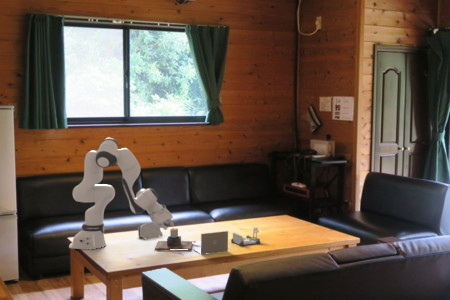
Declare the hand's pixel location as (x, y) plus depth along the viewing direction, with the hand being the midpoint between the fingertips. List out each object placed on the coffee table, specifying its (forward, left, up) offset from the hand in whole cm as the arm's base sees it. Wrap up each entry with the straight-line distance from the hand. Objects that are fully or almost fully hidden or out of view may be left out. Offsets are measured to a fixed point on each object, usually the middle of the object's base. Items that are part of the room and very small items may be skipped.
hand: (169, 227), depth 383 cm
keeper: (+3, -2, -12) cm, 12 cm away
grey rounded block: (-16, +26, -12) cm, 33 cm away
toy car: (+49, +10, -13) cm, 52 cm away
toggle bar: (+3, -2, -10) cm, 11 cm away
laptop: (+26, -10, -12) cm, 30 cm away
